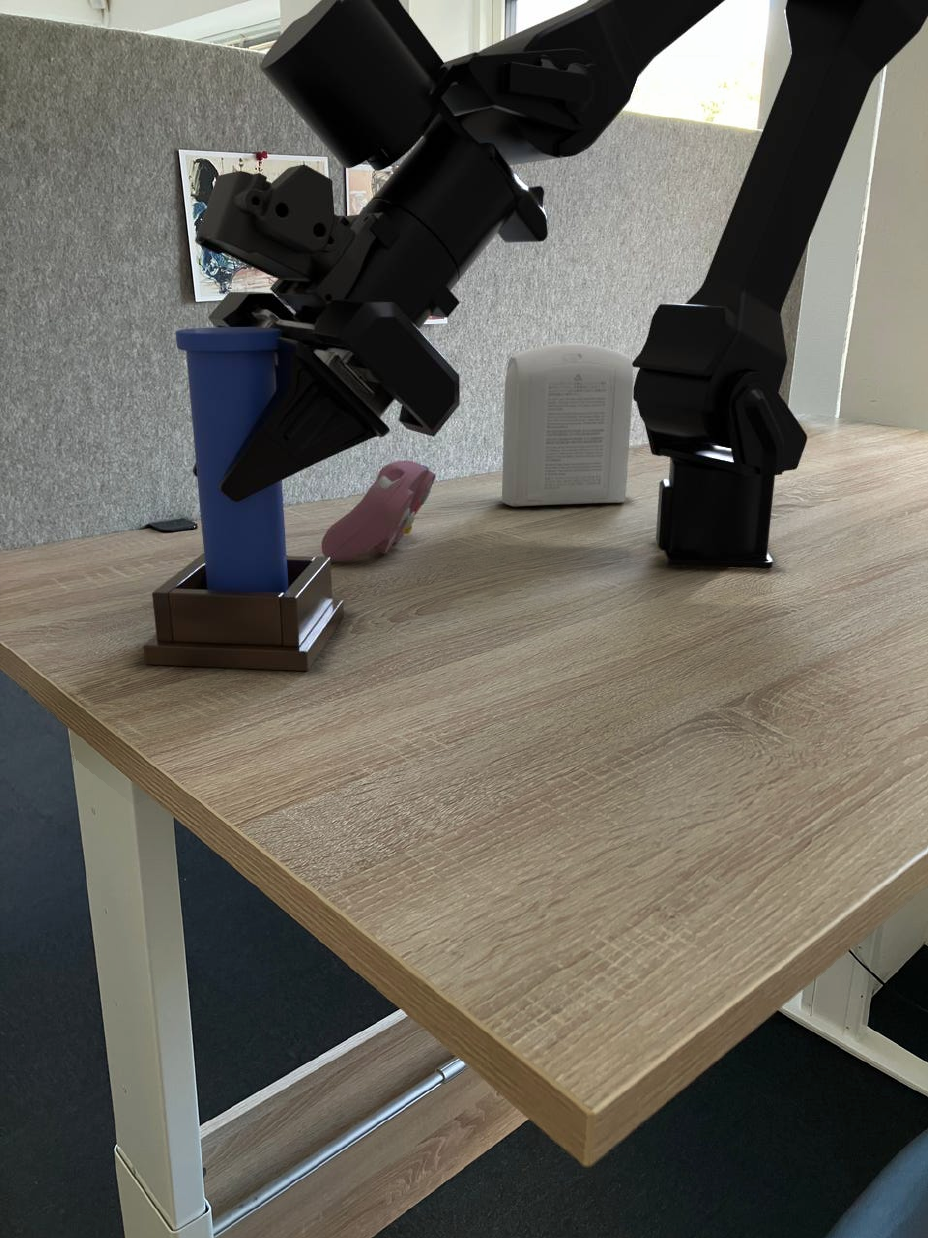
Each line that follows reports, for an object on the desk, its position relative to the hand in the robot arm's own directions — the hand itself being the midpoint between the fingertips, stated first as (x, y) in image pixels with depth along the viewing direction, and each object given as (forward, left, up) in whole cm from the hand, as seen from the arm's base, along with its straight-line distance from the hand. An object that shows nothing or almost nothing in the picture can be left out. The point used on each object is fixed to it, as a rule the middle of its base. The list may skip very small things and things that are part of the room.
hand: (212, 487), depth 49 cm
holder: (-1, -1, -8) cm, 8 cm away
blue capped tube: (-1, -1, -7) cm, 7 cm away
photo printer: (-17, -34, -8) cm, 39 cm away
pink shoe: (-5, -19, -8) cm, 21 cm away
